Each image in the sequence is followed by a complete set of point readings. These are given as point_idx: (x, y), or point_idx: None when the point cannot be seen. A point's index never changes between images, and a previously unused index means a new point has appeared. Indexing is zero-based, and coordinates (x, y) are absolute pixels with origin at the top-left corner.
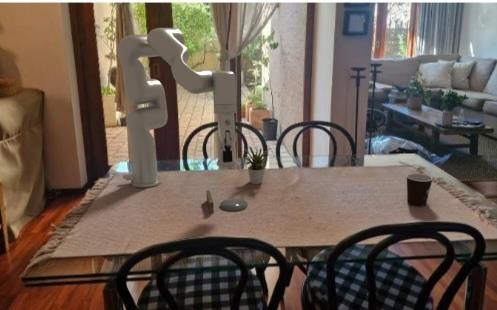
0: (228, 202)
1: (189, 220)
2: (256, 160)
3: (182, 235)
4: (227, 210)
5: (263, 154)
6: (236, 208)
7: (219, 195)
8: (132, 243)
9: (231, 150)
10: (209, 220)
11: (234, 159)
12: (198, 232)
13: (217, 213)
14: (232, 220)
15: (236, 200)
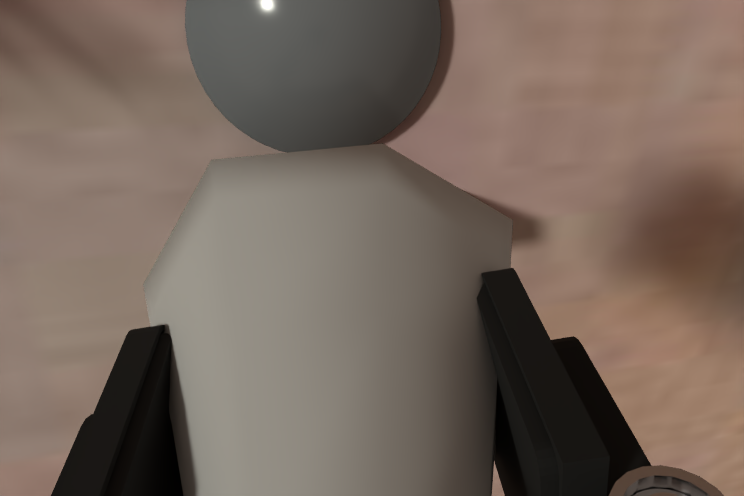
0: (278, 86)
1: (545, 318)
2: None
3: (731, 325)
4: (424, 87)
5: None
6: (417, 9)
7: (85, 168)
8: (730, 492)
9: (714, 491)
10: (572, 205)
11: (397, 231)
12: (726, 252)
13: (464, 160)
14: (613, 40)
15: (228, 10)
